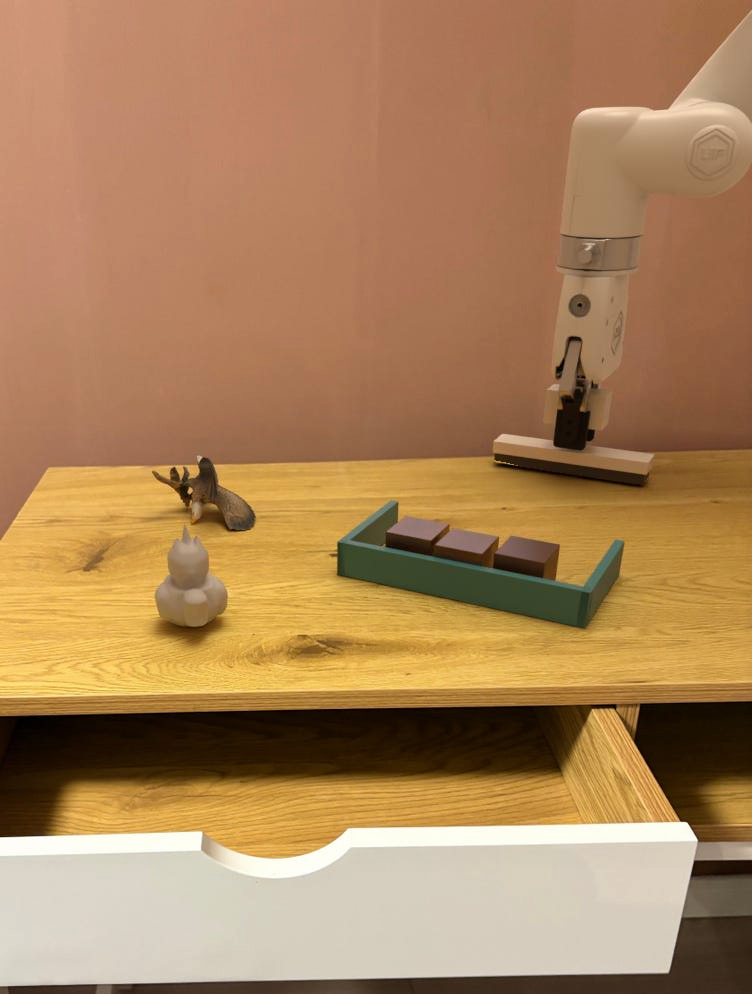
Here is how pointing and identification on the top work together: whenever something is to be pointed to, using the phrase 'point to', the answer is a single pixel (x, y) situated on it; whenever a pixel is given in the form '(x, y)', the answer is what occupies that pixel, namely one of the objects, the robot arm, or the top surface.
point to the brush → (576, 462)
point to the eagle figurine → (209, 495)
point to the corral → (472, 576)
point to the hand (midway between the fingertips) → (573, 442)
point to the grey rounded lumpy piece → (190, 586)
